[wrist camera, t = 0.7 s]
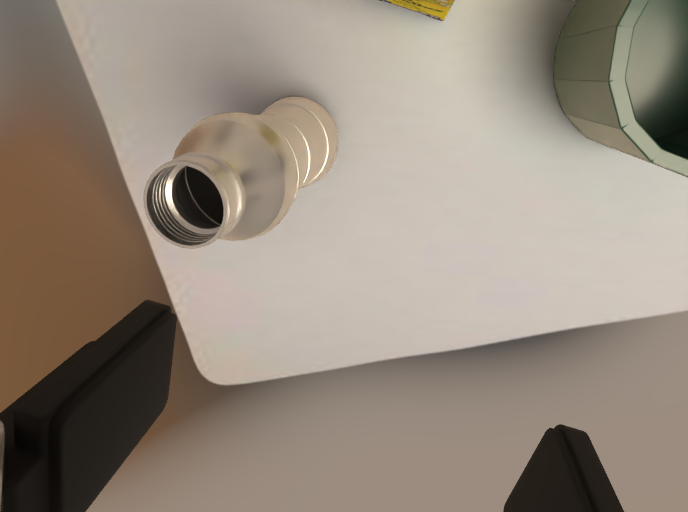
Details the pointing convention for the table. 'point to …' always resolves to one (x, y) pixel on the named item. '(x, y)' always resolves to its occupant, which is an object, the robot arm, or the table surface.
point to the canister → (628, 77)
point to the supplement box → (426, 7)
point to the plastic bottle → (240, 173)
